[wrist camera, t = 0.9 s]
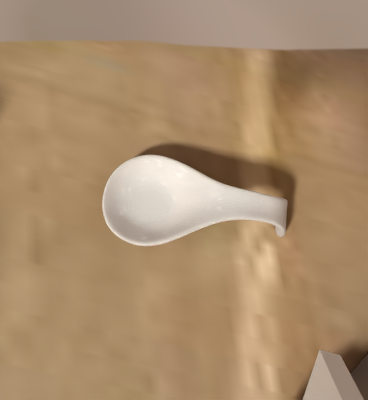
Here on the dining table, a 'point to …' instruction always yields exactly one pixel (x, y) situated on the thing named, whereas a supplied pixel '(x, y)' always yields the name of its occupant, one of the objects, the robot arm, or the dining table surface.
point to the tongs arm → (362, 377)
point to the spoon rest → (178, 202)
